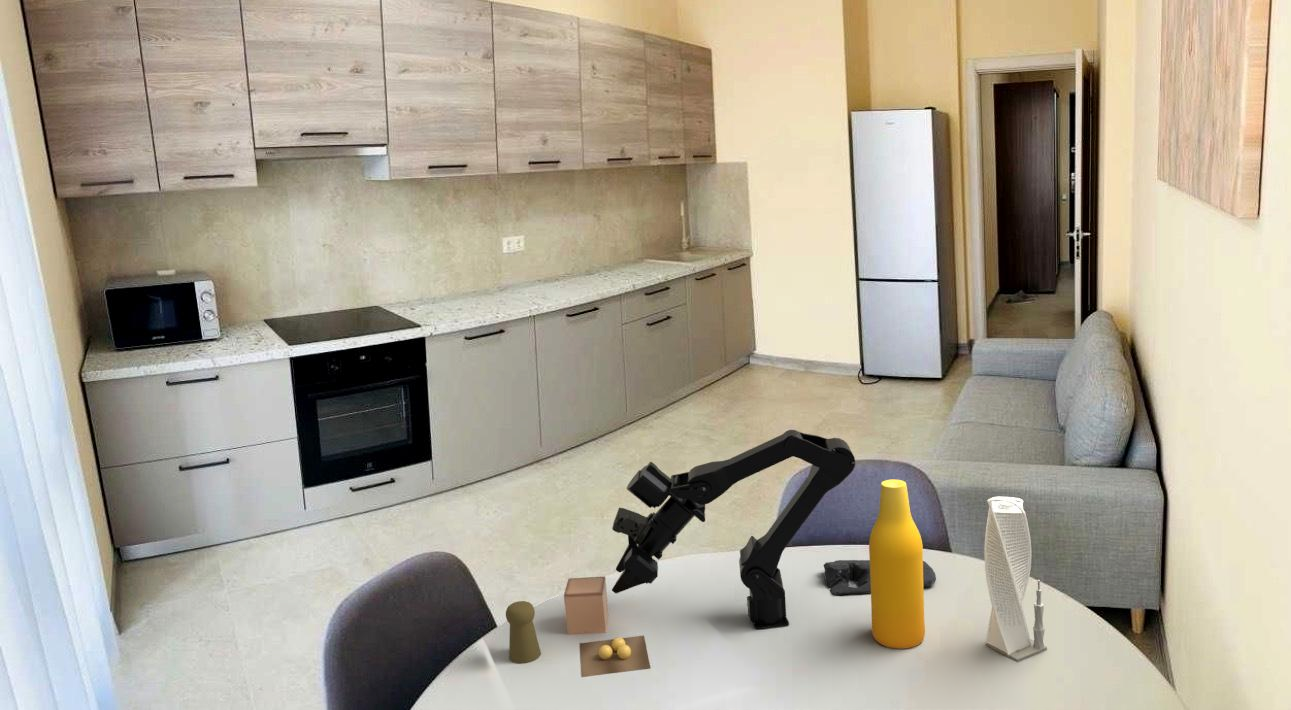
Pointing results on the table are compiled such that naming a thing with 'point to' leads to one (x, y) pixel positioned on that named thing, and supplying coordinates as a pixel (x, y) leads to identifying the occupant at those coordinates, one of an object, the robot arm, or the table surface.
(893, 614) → the beer bottle
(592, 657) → the walnut pad
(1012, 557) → the skyscraper
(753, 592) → the robot arm
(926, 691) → the table surface
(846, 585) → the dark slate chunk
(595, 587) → the tan upright cuboid
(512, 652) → the olive pawn game piece
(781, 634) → the table surface
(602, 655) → the amber marbles
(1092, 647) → the table surface
